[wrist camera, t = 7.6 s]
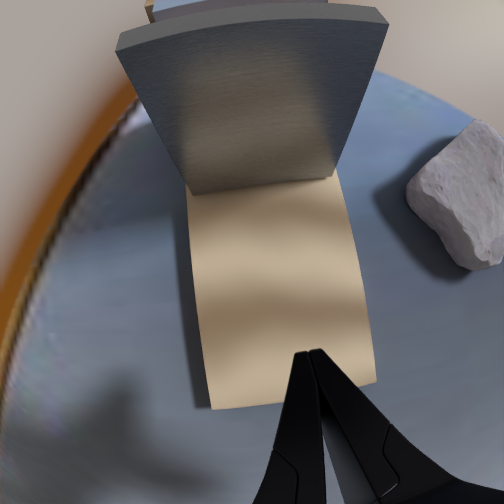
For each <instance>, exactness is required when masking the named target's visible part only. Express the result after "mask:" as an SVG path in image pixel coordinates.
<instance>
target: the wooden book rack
mask: <svg viewBox="0 0 504 504" xmlns="http://www.w3.org/2000/svg"><path fill="white" fill-rule="evenodd" d="M154 2H155V0H146V3H145V10H146V13H147V15H148V18H149V21H150V24H151V23H155V19H154V16H153V13H152V11H153V7H154ZM186 199H187V213H188V226H189V238H190V249H191V259H192V269H193V279H194V288H195V297H196V305H197V314H198V321H199V329H200V337H201V344H202V351H203V358H204V364H205V371H206V377H207V384H208V390H209V396H210V401H211V407H212V410H215V409H227V408H238V407H248V406H256V405H264V404H272V403H279V402H284V399H285V395H286V390H287V386H288V381H289V376H290V372H291V367H292V362H293V357H294V354H295V353H296V352H300V351H309V350H311V349H317V348H321V349H323V350H324V351H325V352H326V353H327V355H328V356H329V357H330V358H331V359H332V360H333V361H334V362H335V363H336V364H337V365H338V366H339V368H340V369H341V370H342V371H343V372H344V373H345V374H346V375H347V376H348V377H349V378H350V379H351V381H352V382H353V383H354V384H355V385H356V386H357V387H359V386H363V385H367V384H371V383H374V382H377V381H376V371H375V362H374V354H373V346H372V338H371V331H370V324H369V318H368V312H367V305H366V300H365V294H364V288H363V283H362V277H361V272H360V267H359V262H358V257H357V253H356V248H355V243H354V239H353V235H352V230H351V226H350V222H349V218H348V213H347V209H346V205H345V202H344V198H343V194H342V190H341V186H340V183H339V179H338V176H337V172H336V169H335V170H334V173H333V175H332V177H322V178H313V179H304V180H296V181H288V182H280V183H273V184H266V185H259V186H252V187H245V188H238V189H232V190H226V191H220V192H214V193H208V194H202V195H196V196H193V195H192V193H191V192H190V190H189V188H188V186H187V185H186Z"/></svg>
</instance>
